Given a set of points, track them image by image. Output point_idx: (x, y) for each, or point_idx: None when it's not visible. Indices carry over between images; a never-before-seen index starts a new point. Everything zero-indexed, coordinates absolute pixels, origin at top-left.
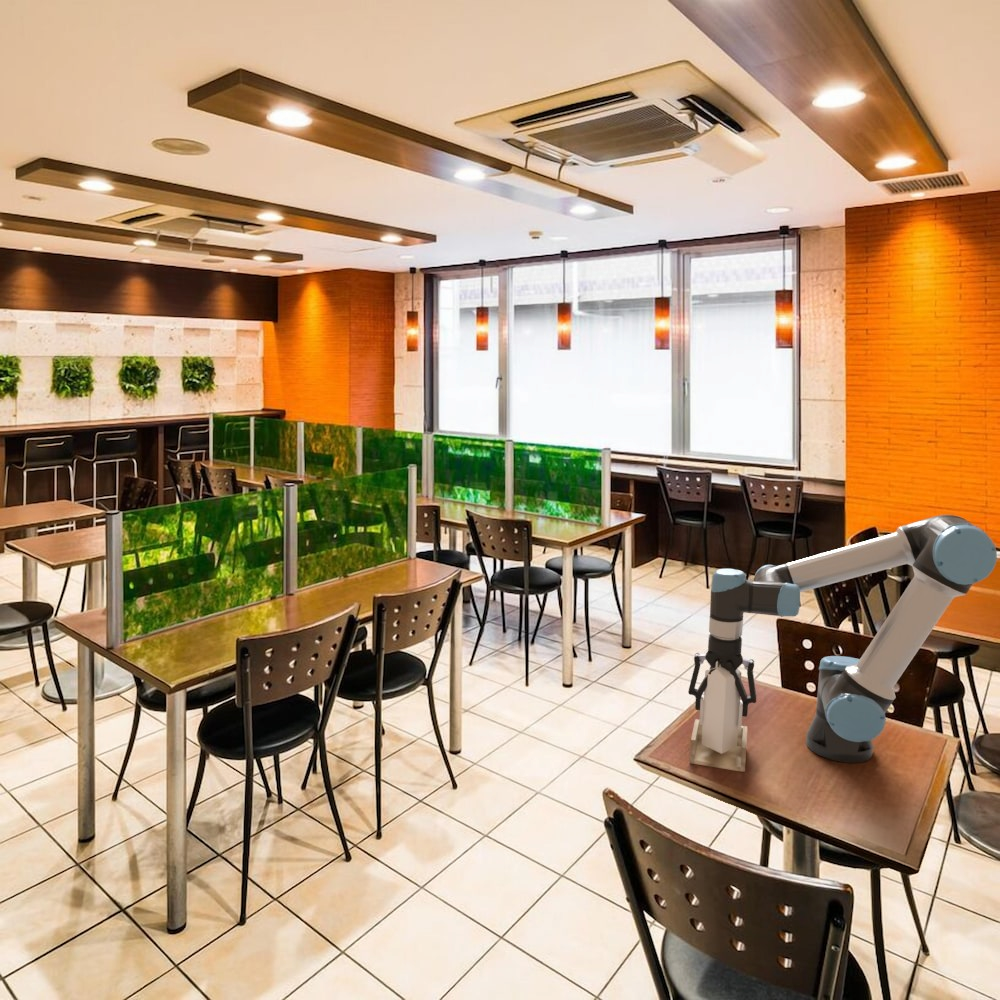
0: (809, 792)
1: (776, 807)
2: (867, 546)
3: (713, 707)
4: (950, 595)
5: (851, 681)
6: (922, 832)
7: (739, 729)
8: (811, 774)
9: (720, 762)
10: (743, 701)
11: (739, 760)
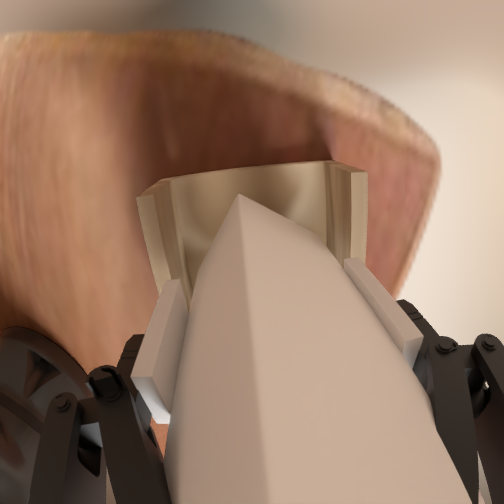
0: (13, 164)
1: (66, 43)
2: None
3: (330, 308)
4: None
5: None
6: None
7: (172, 282)
8: (29, 253)
9: (239, 180)
10: (123, 398)
11: (184, 223)
